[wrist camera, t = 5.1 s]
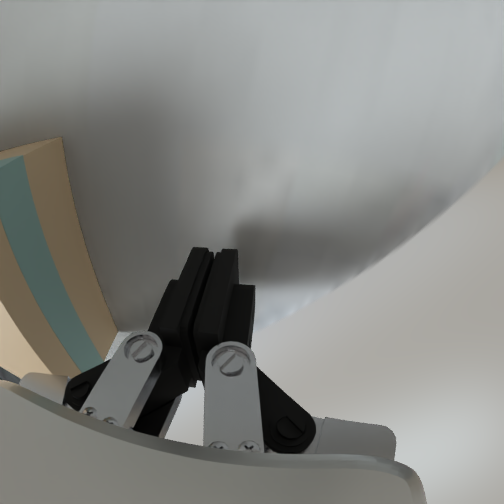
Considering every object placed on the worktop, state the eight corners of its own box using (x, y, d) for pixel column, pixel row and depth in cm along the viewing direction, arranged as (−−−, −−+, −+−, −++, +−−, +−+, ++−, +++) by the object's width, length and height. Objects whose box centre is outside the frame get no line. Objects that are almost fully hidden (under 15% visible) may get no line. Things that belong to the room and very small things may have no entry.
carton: (65, 134, 9) (-44, 196, 4) (120, 329, 16) (84, 408, 11) (-26, 158, 10) (-93, 206, 5) (29, 305, 17) (-8, 361, 12)
